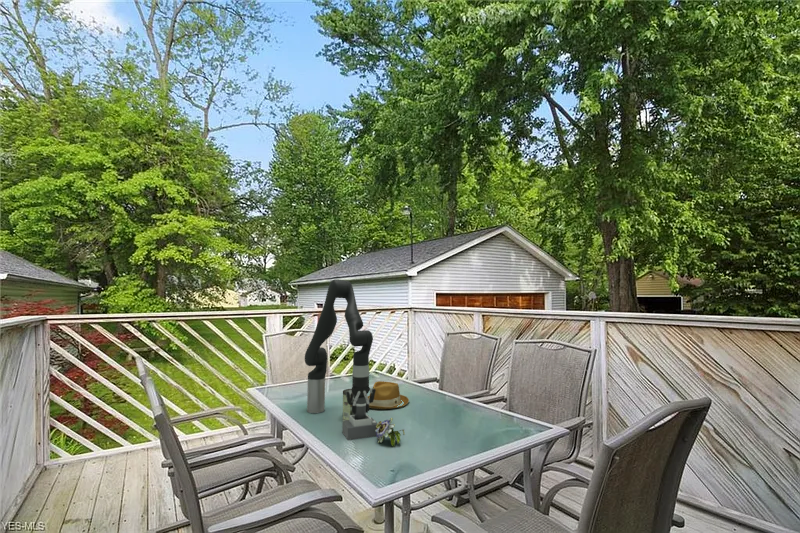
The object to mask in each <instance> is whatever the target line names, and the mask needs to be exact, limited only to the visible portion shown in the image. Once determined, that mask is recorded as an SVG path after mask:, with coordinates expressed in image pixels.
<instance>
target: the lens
mask: <svg viewBox="0 0 800 533" xmlns="http://www.w3.org/2000/svg"><path fill="white" fill-rule="evenodd" d="M355 406H356V414H355V420H361V419H366V414H367V413H366V398H365V397H361V398H358V400H357V401H356V404H355Z"/></svg>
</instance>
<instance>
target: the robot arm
mask: <svg viewBox="0 0 800 533" xmlns="http://www.w3.org/2000/svg"><path fill="white" fill-rule="evenodd" d="M336 299H345V301H346V303H347V304H346V308H345V311H344V318H345V321H346V324H347V326H348V332H349V334H348V336H349V338H348V339H349V343H350V344H351V345H352V346H353V347H361V348H360V349H359V350H358V351H355V352H354V353H353V355H352V356H353V359H352V373H351V374H352V378H351V380H352V382H351V384H352V386H351V388H350V389H351V390H349V391H347V390H346V391H345V393H346V398H347V402H348V404H349V405H352V413H353V414H356V406H355V404H356V401H357V400H358V398H361V397H365V398H366V414H368V412H370V408H369V404H370V403H372V402H373V400H374V396H375V391H376V390H375V389H374V388H373V387H370V366H369V365H370V364H369V363H370V362H369V361H370V360H369V359H370V357H369V356H370V352H371V348H372V344H373V340H374V336H373V333H372V332H371V331H370V330H369V329H363V330H361V329H362V328H363V327H364V322H363V319H362V317H361V314H360V312H359V310H358V306H357V301H356V295H355V292H354V287H353V285H352V282H350V280H346V279H332V280H331V281H330V283H329V285H328V288H327V292H326V297H325V300H324V304H323V306H322V310H321V312H320V316H319V318H318V322H317V324H316V327H315V330H314V333H313V335H312V338H311V340H310V342H309V345H308V346H307V349H306V351H305V354H304V362H305V365H306V366H308V367H314V368H313V369H312V370H310V371H308V374H307V393H306V394H307V395H306V396H307V401H306V403H307V404H306V412H307V413H309V414H320V413H323V412H325V407H326V405H325V404H326V403H325V402H326V374H327V369H328V368H327V367H328V353H327V350H326V348H325V347H321V346H322V345H323V344H324V343H325V341H326V340H328V339H329V338H330V337H331V336H332V334H333V333H334V331H335V329H336V325H337V323H338V322H337V321H338V318H337V314H336V310H335V301H336ZM351 393H353V394H354V396H353V400H352V402H351V399H350V395H351ZM370 393H371V394H370ZM368 394H369V396H370V399H369V400H368V397H367V396H368Z"/></svg>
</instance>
